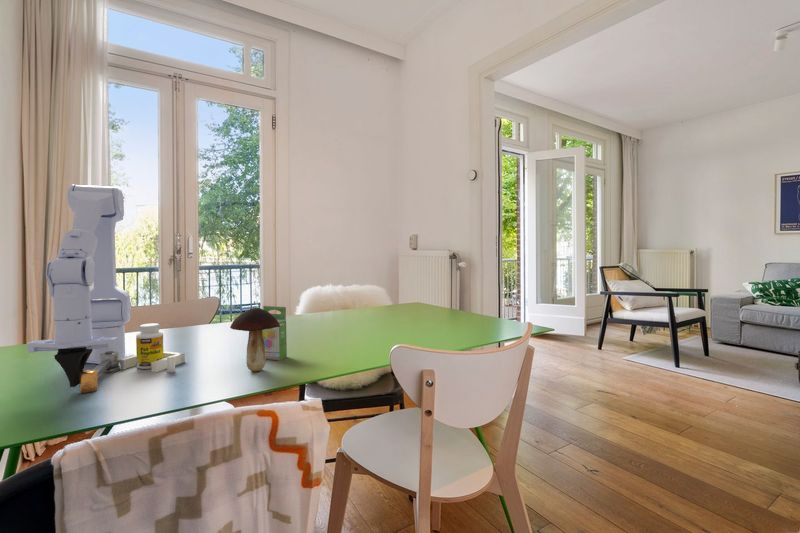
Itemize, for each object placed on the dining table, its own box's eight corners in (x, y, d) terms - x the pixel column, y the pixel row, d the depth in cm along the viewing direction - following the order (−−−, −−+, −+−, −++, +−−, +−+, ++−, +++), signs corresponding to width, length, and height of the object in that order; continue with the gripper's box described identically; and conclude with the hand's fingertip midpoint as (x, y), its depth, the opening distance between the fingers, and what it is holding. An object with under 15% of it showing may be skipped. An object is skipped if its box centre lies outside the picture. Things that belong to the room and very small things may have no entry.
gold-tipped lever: (102, 368, 94) (102, 350, 94) (120, 366, 95) (120, 349, 95) (75, 393, 78) (74, 372, 78) (97, 391, 79) (97, 370, 79)
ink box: (255, 358, 104) (254, 307, 103) (264, 354, 107) (263, 305, 107) (278, 360, 102) (278, 309, 101) (287, 356, 106) (286, 306, 105)
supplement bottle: (136, 371, 93) (135, 327, 92) (136, 365, 97) (135, 323, 97) (164, 367, 96) (163, 325, 95) (163, 361, 100) (162, 321, 100)
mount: (94, 372, 91) (94, 369, 91) (111, 367, 95) (111, 364, 95) (108, 374, 90) (108, 370, 90) (124, 369, 94) (124, 365, 94)
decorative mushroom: (268, 361, 101) (267, 303, 100) (288, 371, 93) (288, 308, 92) (223, 370, 94) (222, 307, 93) (241, 382, 85) (240, 313, 85)
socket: (120, 368, 95) (120, 359, 94) (151, 358, 103) (151, 350, 103) (155, 372, 92) (155, 363, 92) (184, 361, 100) (184, 353, 100)
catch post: (165, 372, 92) (165, 357, 92) (171, 370, 93) (170, 355, 93) (171, 373, 92) (170, 358, 91) (176, 370, 93) (176, 356, 93)
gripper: (14, 323, 73) (18, 395, 74) (105, 320, 76) (107, 389, 77) (39, 316, 80) (42, 382, 81) (121, 314, 83) (123, 377, 84)
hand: (75, 385), depth 79 cm, fingers closed
